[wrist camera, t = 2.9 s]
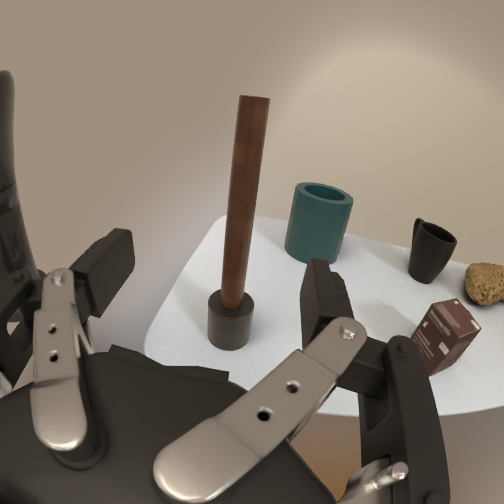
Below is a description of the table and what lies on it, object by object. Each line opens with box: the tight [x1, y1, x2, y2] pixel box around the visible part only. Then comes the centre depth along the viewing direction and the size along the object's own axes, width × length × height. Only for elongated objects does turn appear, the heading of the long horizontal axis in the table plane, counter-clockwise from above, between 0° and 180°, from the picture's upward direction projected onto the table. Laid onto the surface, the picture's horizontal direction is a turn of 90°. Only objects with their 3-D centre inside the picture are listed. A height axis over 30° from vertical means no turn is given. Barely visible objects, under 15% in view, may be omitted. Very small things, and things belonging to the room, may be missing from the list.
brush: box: [208, 95, 270, 350], centre depth 24 cm, size 5×5×24 cm
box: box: [410, 298, 481, 377], centre depth 27 cm, size 6×6×7 cm
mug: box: [408, 218, 457, 284], centre depth 45 cm, size 8×12×10 cm
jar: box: [285, 183, 353, 264], centre depth 46 cm, size 10×10×11 cm
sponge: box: [465, 263, 504, 306], centre depth 40 cm, size 13×8×20 cm
